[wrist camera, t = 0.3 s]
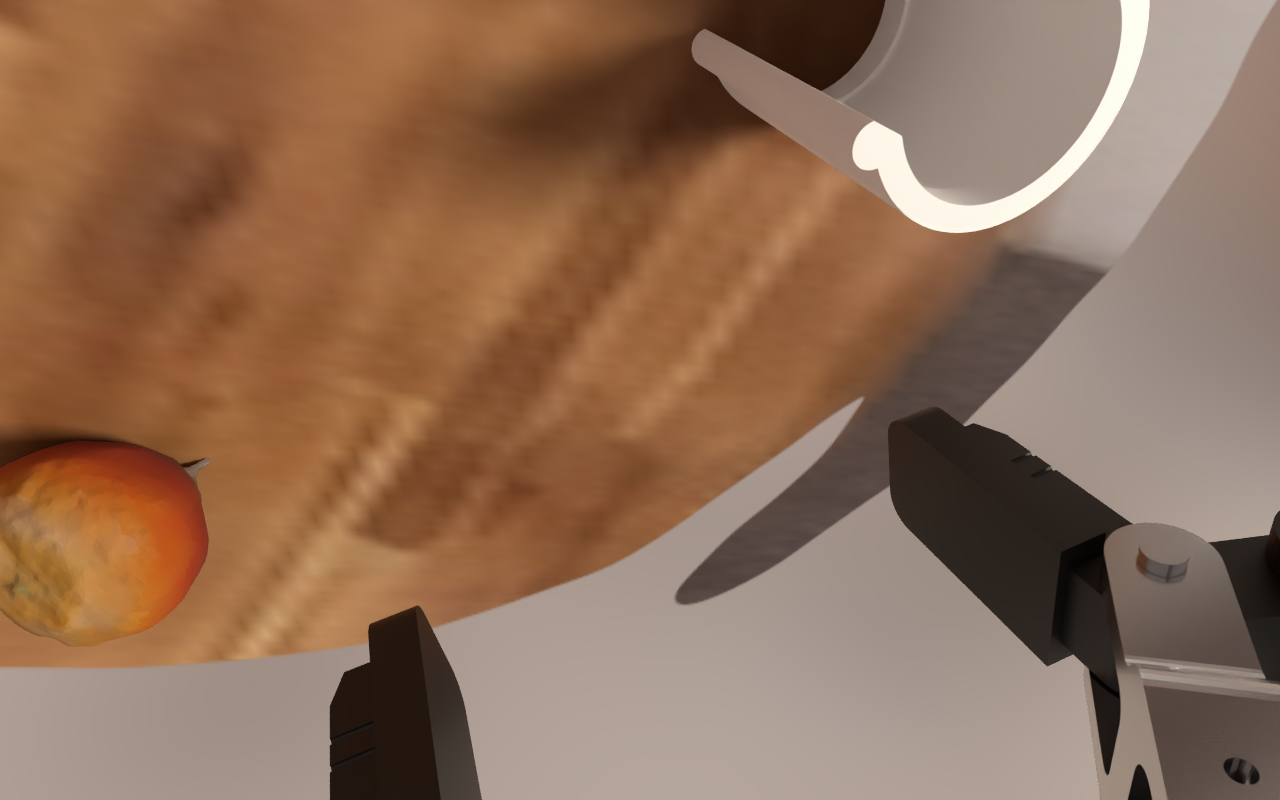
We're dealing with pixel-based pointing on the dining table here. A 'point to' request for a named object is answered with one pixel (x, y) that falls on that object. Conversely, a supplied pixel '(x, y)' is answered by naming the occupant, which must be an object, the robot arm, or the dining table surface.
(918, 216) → the bracket
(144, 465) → the fruit
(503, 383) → the dining table surface
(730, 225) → the dining table surface
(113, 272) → the dining table surface
